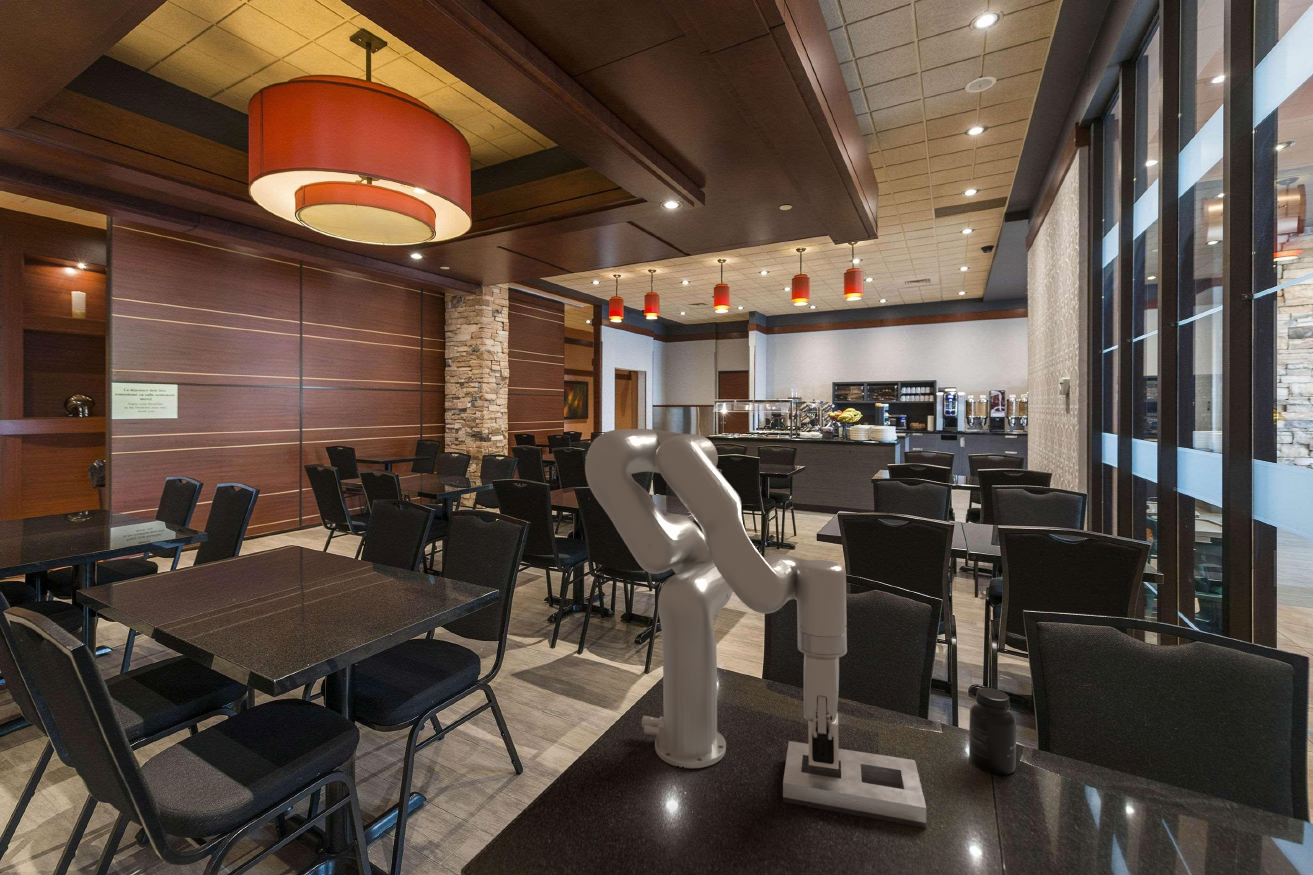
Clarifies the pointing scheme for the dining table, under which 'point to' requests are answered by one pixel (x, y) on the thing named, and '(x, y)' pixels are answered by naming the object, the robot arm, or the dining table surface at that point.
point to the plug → (836, 748)
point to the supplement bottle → (992, 732)
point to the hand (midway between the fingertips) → (823, 753)
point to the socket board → (856, 785)
